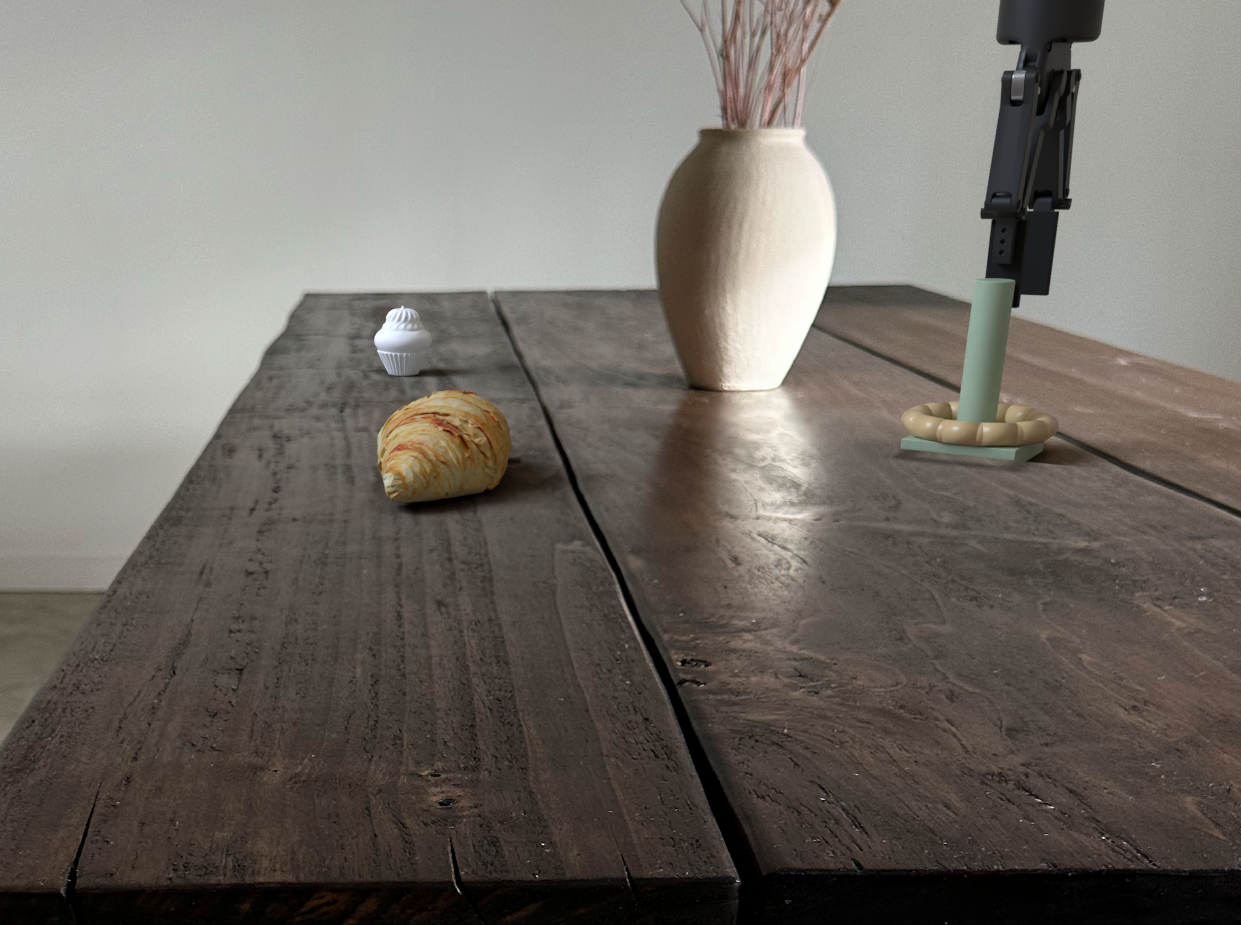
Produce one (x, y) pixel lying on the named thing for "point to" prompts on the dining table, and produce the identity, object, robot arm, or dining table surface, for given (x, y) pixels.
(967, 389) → the post
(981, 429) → the ring
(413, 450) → the croissant
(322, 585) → the dining table surface
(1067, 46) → the robot arm
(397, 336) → the muffin
